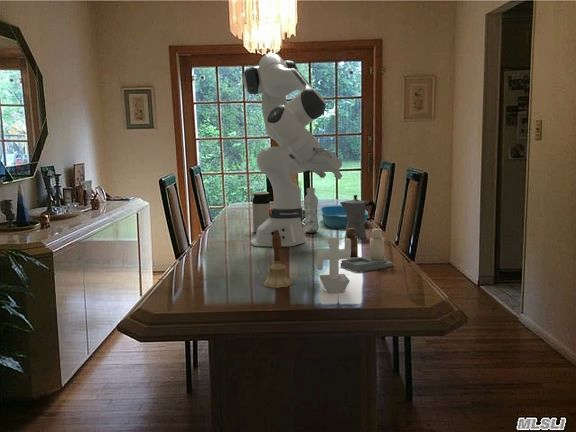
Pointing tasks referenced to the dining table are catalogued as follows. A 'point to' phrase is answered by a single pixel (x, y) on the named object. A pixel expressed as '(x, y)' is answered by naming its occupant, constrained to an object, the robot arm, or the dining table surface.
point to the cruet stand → (375, 256)
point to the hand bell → (277, 266)
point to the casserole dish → (337, 216)
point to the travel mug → (260, 209)
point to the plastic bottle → (311, 211)
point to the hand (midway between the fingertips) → (331, 177)
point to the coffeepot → (357, 215)
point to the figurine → (334, 265)
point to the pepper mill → (352, 242)
